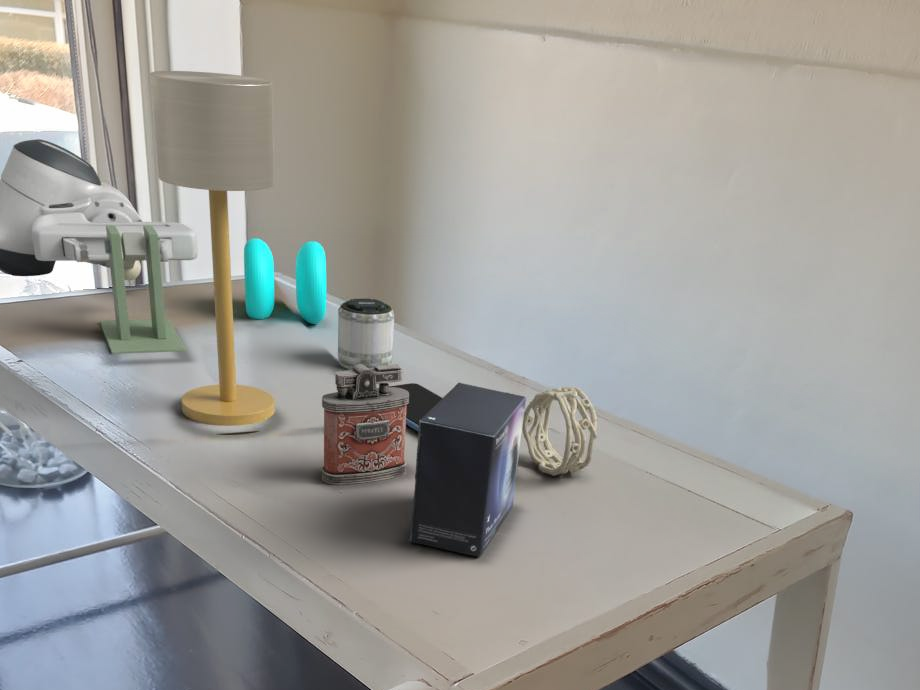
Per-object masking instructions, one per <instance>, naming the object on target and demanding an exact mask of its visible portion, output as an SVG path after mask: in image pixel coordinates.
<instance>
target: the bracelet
mask: <svg viewBox="0 0 920 690" xmlns="http://www.w3.org/2000/svg"><path fill="white" fill-rule="evenodd" d="M579 398H580V399H581V400H580V399H579ZM554 400H555V401H557V402H558V405H559V408H560V410H561V413H562V415H563V418H564V421H565V427H566V432H565V433H566V434H565V436H566V439H565V446H564V453H563V457H562V456H561V455H560V454H559V453H557V451H556V450H555V448H554V447H553V446H552V444H551V442H550V440H549V425H550V418H551V410H552V409H551V408H552V405H553V404H552V403H553V401H554ZM531 410H532V411H533V414H534V417H532V415H531V416H530V412H531ZM577 411H578V412H579V414H580V416H581V418H582V419H581V420H579V421H578V420H577V419H576V413H577ZM587 411H588V412H587ZM544 413H545V414H544ZM588 413H589V414H590V415H589V414H588ZM543 415H544V420H543ZM597 425H598V419H597V413H596V410H595V407H594V406H593V403H591V401H590V399H589V398H588V396H587V395H586V393H585V392H584V391H583V390H581V388H579V387H575V386H569V385H566V386H562V387H557V388H552V390H545V391H542V392H539V393H537V394H535V395H534V397H533V399H531V401H529V404H528V405H527V406H526V407H525V410H524V418H523V426H522V434H523V437H524V439H525V442H526V446H527V449H528V454H529V456H530V458H531V460H532V462H533V463H535V464H536V465H538V470H539V471H541V472H543V473H544V474H548V475H550V476H553V477H556V476H559V475H562V474H567V473H568V472H569V470H570V471H571V473H578V472H580V471H581V470H584V469H585V468H586V467H589V465H590V464H591V462H592V459H593V453H594V447H595V443H596V442H595V441H596V439H597V438H598V433H597ZM527 426H529V427H530V426H531V427H530V429H529V431H528V428H527ZM587 429H588V431H589V438H588V445H587V436H586V433H585V430H587ZM534 434H535V436H534ZM573 436H574V441H572V440H573V439H572V438H573ZM533 437H534V440H535V443H534V440H533ZM541 443H543V447H544V451H543V449H542V447H541ZM586 447H587V451H586ZM585 451H586V457H585V459H584V461H583V459H582V458H583V456H584V454H585Z"/></svg>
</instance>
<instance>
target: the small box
mask: <svg viewBox="0 0 920 690" xmlns="http://www.w3.org/2000/svg"><path fill="white" fill-rule="evenodd" d="M526 401H527V397H526V396H524V395H519V394H514V393H510V392H505V391H499V390H495V389H490V388H485V387H482V386H477V385H472V384H468V383H463V382H458V383H457V384H456V385H455V386H453V388H451V389H450V390H449V391H448V392H447V393H446V394H445V395H444V396H443V397H442V399H441V400H440V401H439V402H438V403H437V404H436V405H435V406H434V407H433V408H432V409H431V410H430V411H429V412H428V413H427V414H426V415H425V416H424V417H423V418H422V419H421V420H420V421H419V431H417V446H416V460H415V461H416V463H415V474H414V491H413V503H412V504H413V506H412V516H411V525H410V535H409V542H410V543H414V544H418V545H423V546H428V547H431V548H437V549H441V550H446V551H450V552H454V553H459V554H464V555H466V556H467V555H468V556H473V557H477V558H480V557H481V556H483V554H484V553H485V551H486V549H487V547H488V546H489V545H490V543H491V541H492V540H493V539H494V537H495V535H496V534H497V532H498V531H499V529H500V528H501V526H502V524H503V523H504V522H505V521H506V519H507V517H508V515H509V514H510V512H511V511H512V509H513V505H514V499H515V498H514V497H515V492H516V491H515V489H516V481H517V475H518V466H519V459H520V458H519V456H520V450H521V449H520V448H521V442H522V434H523V431H522V426H523V418H524V412H525V410H526Z"/></svg>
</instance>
